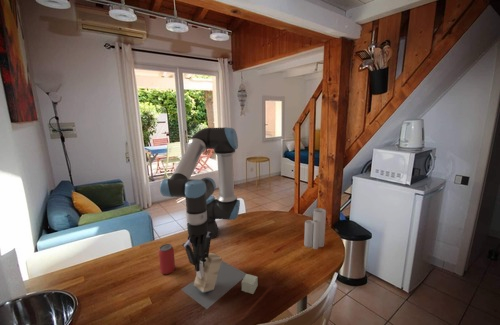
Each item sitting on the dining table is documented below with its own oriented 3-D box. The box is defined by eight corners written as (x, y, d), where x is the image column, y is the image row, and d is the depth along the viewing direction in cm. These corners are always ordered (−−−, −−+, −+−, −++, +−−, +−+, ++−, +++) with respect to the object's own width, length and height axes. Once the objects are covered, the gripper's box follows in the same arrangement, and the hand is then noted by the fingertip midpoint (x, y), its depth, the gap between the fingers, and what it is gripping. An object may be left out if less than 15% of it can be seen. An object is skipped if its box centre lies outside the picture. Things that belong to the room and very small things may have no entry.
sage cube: (241, 292, 93) (241, 281, 92) (246, 283, 98) (246, 273, 97) (253, 295, 91) (252, 284, 90) (257, 287, 96) (257, 276, 95)
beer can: (178, 267, 109) (176, 244, 106) (169, 276, 103) (166, 252, 100) (166, 264, 111) (164, 242, 109) (157, 273, 105) (154, 249, 102)
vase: (318, 239, 132) (320, 207, 128) (327, 246, 125) (329, 212, 121) (302, 243, 127) (303, 210, 124) (310, 250, 121) (311, 215, 117)
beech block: (193, 286, 92) (202, 253, 94) (204, 283, 97) (212, 252, 99) (202, 292, 89) (212, 258, 90) (213, 290, 93) (222, 258, 95)
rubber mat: (181, 290, 94) (180, 289, 94) (222, 262, 112) (222, 260, 112) (206, 310, 84) (206, 309, 84) (247, 275, 103) (247, 274, 102)
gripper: (189, 230, 79) (192, 290, 83) (216, 218, 89) (218, 271, 93) (176, 224, 84) (180, 281, 88) (204, 213, 93) (206, 264, 98)
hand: (200, 276), depth 91 cm, fingers closed
